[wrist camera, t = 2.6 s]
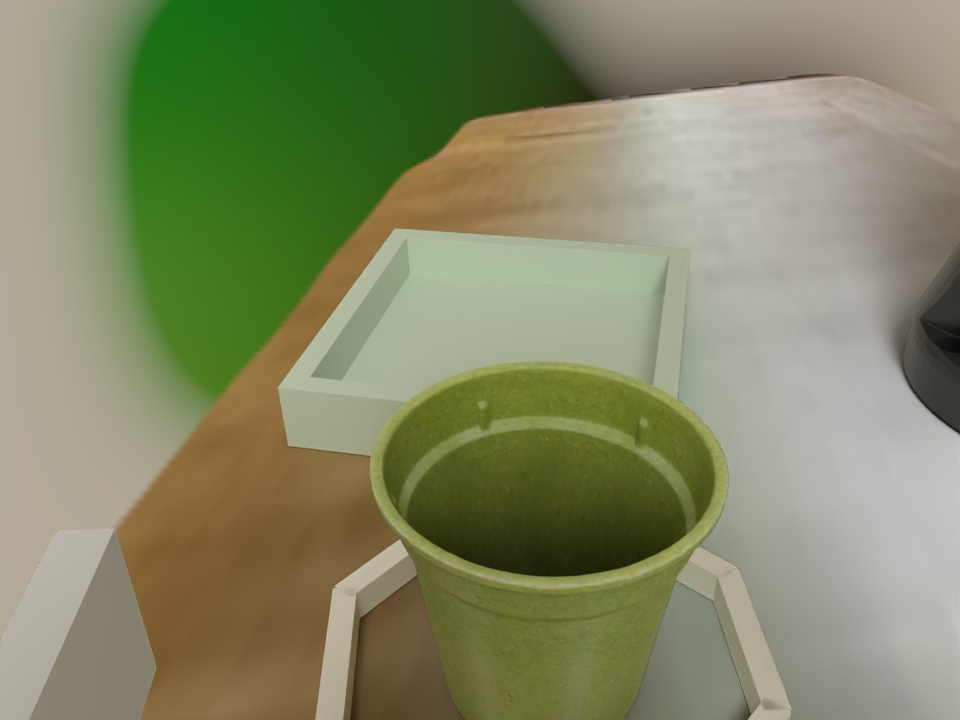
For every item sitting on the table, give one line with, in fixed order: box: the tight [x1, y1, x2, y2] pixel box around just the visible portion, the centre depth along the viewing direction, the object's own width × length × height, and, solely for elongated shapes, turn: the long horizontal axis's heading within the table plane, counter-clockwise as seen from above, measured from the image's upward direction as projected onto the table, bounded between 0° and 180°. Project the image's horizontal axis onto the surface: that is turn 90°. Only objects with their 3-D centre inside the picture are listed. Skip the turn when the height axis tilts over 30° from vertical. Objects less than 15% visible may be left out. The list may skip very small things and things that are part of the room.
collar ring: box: [315, 539, 792, 720], centre depth 29 cm, size 14×14×1 cm
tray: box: [278, 229, 690, 456], centre depth 43 cm, size 16×16×3 cm
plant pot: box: [370, 362, 729, 720], centre depth 27 cm, size 9×9×9 cm
